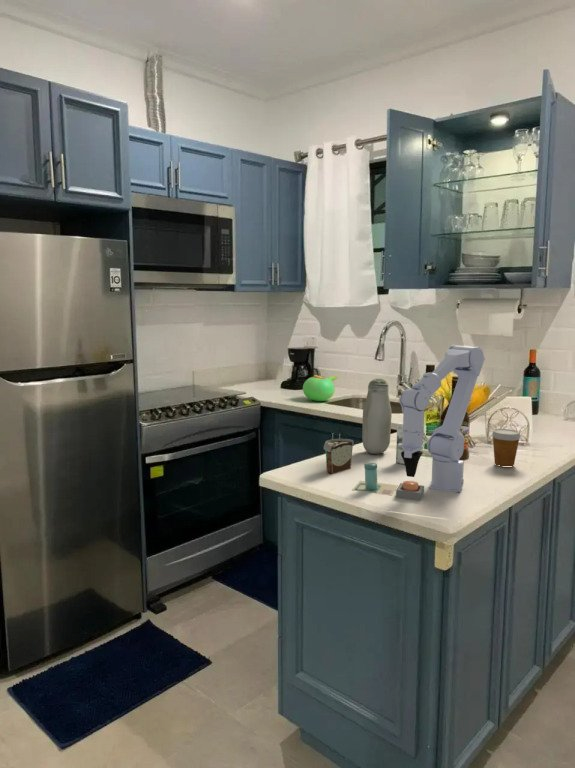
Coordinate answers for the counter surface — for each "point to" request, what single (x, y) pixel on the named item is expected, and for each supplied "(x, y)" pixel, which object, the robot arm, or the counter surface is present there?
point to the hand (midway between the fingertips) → (410, 476)
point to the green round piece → (319, 388)
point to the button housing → (410, 493)
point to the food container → (338, 455)
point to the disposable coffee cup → (505, 446)
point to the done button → (410, 486)
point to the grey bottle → (377, 417)
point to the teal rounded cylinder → (370, 476)
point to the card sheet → (381, 488)
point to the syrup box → (399, 440)
